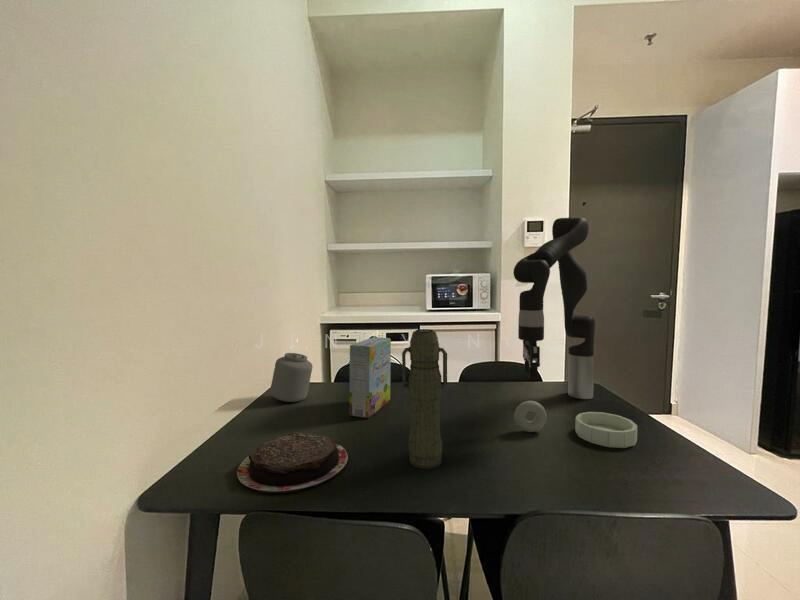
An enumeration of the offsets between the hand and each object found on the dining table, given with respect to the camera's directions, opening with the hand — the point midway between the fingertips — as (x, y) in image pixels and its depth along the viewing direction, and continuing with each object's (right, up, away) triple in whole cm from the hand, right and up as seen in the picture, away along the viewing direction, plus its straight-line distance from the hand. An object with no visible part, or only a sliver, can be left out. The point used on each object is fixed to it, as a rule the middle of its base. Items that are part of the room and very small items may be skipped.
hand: (530, 375), depth 115 cm
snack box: (-52, -18, +25) cm, 60 cm away
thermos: (-34, -19, -17) cm, 43 cm away
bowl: (+22, -18, -3) cm, 28 cm away
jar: (-84, -17, +36) cm, 93 cm away
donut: (0, -18, +1) cm, 18 cm away
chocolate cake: (-69, -20, -18) cm, 74 cm away
